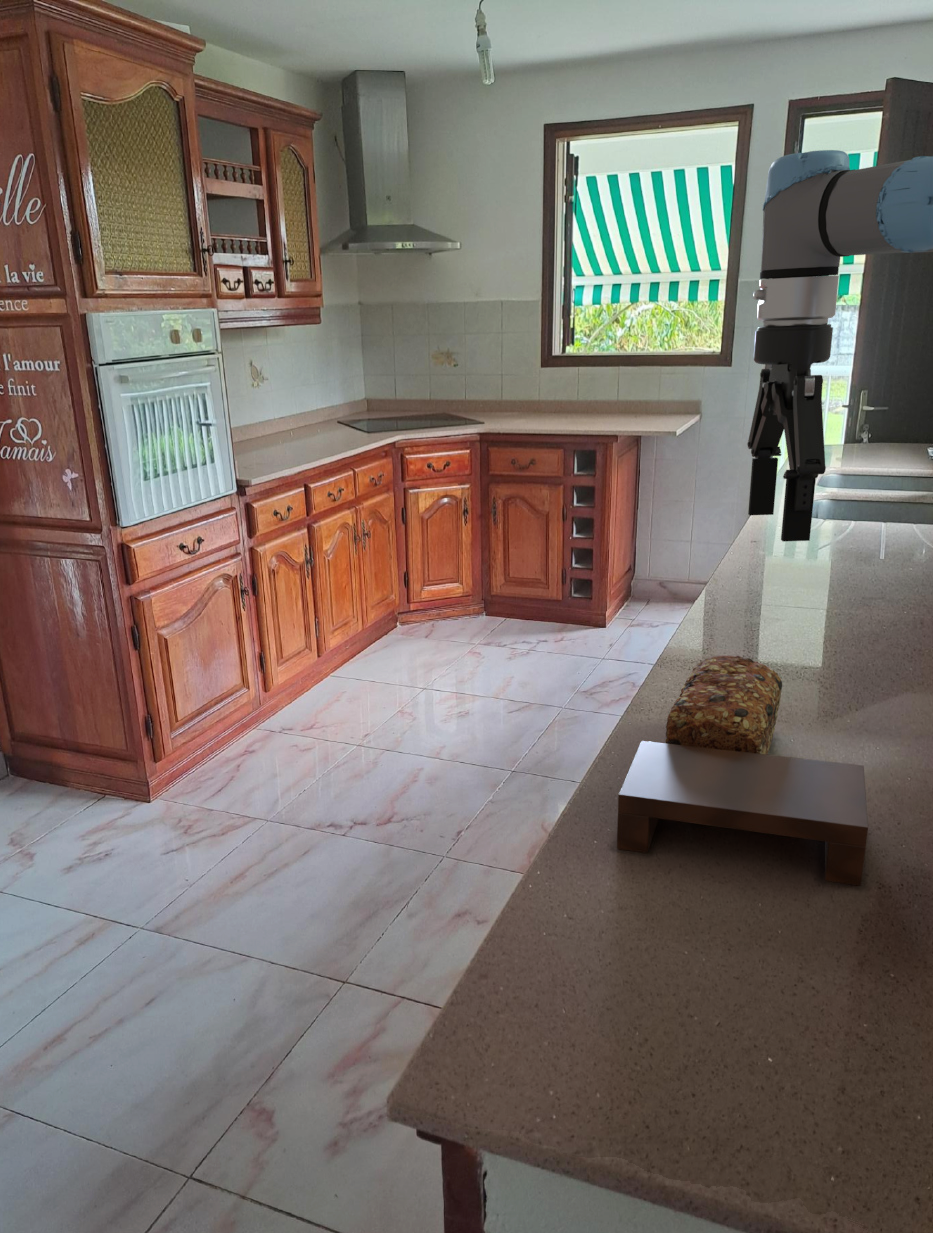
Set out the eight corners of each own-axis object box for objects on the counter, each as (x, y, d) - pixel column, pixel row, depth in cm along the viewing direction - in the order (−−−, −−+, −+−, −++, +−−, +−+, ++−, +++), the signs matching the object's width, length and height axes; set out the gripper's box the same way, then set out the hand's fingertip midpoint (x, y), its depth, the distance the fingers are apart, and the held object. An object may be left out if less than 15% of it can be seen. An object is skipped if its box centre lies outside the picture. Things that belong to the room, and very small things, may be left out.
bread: (694, 720, 123) (698, 646, 119) (782, 732, 118) (789, 655, 115) (659, 782, 107) (663, 699, 104) (759, 798, 103) (766, 712, 99)
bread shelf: (857, 818, 98) (863, 765, 96) (860, 886, 87) (868, 827, 84) (639, 790, 106) (641, 740, 104) (616, 848, 94) (618, 794, 92)
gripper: (729, 323, 111) (717, 506, 118) (792, 326, 87) (773, 554, 95) (795, 320, 110) (779, 504, 118) (877, 322, 87) (851, 552, 94)
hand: (776, 527), depth 106 cm, fingers open, 13 cm apart
